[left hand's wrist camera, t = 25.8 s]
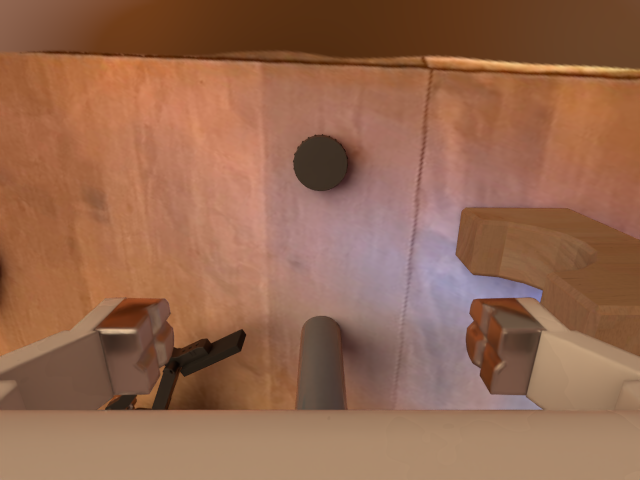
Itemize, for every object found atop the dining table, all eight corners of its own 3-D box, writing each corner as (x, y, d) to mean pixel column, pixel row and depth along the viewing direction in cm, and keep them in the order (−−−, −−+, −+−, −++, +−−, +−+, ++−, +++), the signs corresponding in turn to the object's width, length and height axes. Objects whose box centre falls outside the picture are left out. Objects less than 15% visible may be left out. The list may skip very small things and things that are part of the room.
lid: (285, 173, 37) (283, 176, 36) (308, 124, 36) (307, 125, 34) (332, 196, 38) (332, 200, 37) (356, 149, 37) (358, 151, 35)
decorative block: (452, 256, 40) (569, 392, 21) (461, 204, 38) (597, 305, 19) (556, 259, 40) (761, 397, 22) (569, 207, 38) (809, 310, 20)
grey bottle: (334, 311, 43) (343, 441, 26) (345, 344, 44) (359, 486, 28) (296, 321, 43) (281, 455, 27) (307, 353, 45) (300, 498, 28)
